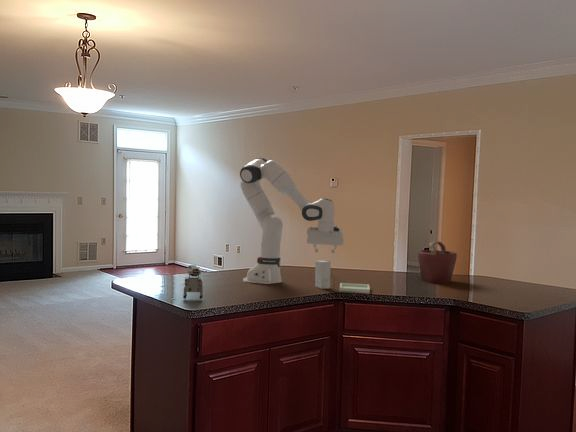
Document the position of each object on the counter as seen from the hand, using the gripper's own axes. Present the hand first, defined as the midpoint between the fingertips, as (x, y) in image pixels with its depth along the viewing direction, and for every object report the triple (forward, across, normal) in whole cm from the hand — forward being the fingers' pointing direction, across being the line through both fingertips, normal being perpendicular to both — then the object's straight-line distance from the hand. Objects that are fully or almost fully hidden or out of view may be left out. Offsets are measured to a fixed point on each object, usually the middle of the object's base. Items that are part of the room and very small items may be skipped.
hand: (324, 252), depth 293 cm
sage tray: (+19, +17, -3) cm, 26 cm away
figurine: (+20, -60, -46) cm, 78 cm away
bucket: (+19, +67, +42) cm, 81 cm away
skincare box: (+20, -1, 0) cm, 20 cm away
